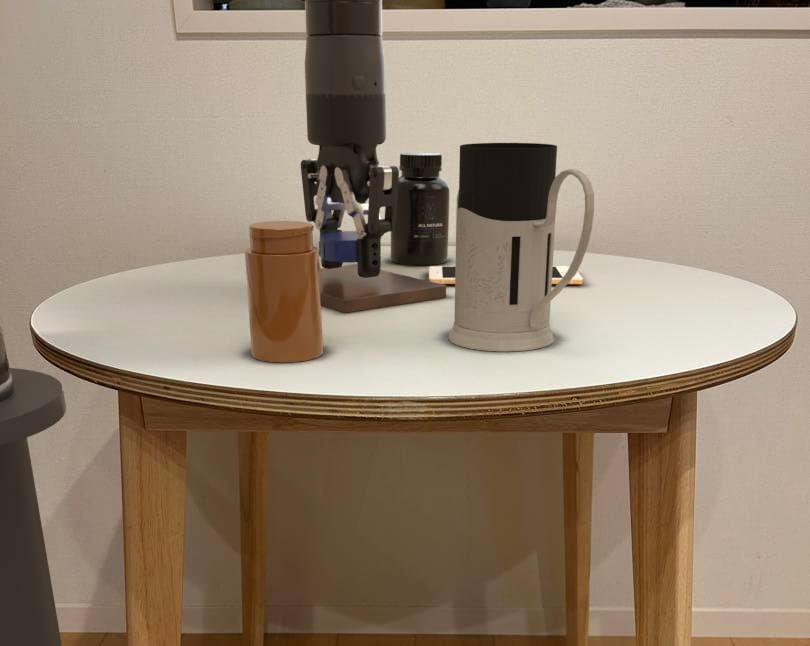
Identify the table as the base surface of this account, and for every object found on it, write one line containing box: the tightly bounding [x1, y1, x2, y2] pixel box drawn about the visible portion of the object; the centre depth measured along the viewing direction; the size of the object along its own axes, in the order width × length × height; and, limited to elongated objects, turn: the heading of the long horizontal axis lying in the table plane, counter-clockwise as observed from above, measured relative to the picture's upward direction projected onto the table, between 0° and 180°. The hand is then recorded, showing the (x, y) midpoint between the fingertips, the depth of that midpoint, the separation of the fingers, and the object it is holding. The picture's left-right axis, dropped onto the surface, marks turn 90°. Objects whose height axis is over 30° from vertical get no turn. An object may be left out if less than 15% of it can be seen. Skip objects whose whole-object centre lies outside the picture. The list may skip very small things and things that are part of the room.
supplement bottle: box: [390, 152, 451, 266], centre depth 117 cm, size 7×7×12 cm
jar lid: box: [318, 230, 359, 263], centre depth 101 cm, size 6×6×2 cm
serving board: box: [320, 263, 447, 314], centre depth 102 cm, size 12×16×1 cm
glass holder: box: [448, 142, 595, 352], centre depth 79 cm, size 9×14×15 cm, turn 33°
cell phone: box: [428, 265, 584, 285], centre depth 109 cm, size 8×16×1 cm, turn 89°
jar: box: [244, 220, 324, 363], centre depth 78 cm, size 6×6×10 cm
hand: (350, 271), depth 102 cm, fingers open, 6 cm apart
